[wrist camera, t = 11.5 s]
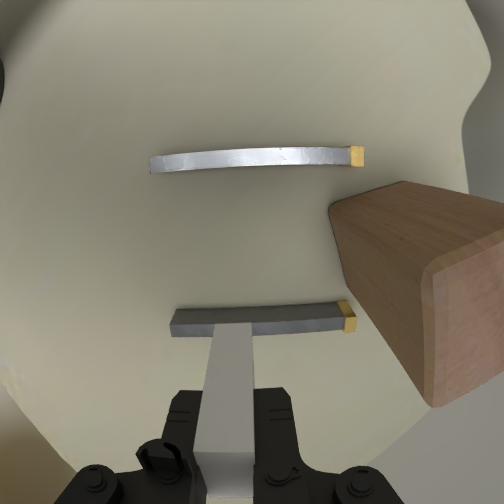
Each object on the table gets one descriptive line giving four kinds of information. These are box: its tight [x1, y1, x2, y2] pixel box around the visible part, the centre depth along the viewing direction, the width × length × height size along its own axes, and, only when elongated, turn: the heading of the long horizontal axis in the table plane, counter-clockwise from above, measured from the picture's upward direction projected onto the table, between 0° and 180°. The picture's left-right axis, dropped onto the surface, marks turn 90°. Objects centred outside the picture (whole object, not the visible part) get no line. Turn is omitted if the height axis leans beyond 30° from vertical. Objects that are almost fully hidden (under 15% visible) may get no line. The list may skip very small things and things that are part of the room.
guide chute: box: [149, 146, 364, 337], centre depth 30 cm, size 18×19×4 cm
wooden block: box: [329, 181, 504, 408], centre depth 22 cm, size 10×10×20 cm
